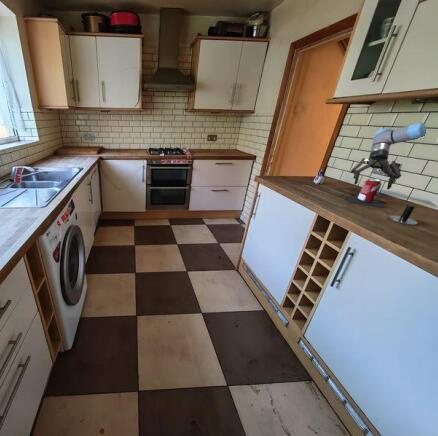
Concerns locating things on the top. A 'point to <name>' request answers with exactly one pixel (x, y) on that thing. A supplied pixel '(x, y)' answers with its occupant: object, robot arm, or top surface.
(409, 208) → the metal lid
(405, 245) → the top surface
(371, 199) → the soda can
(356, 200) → the slate mat
